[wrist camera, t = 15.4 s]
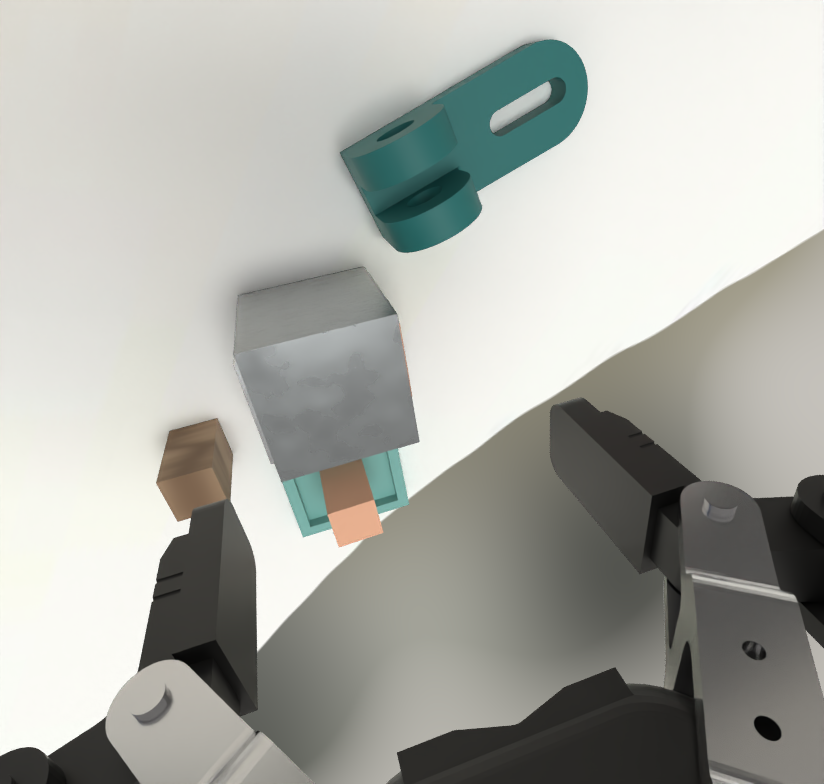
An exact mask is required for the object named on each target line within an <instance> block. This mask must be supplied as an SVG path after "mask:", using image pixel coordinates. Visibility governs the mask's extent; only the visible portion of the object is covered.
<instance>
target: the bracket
mask: <svg viewBox="0 0 824 784" xmlns="http://www.w3.org/2000/svg"><path fill="white" fill-rule="evenodd" d="M547 81H549V82H550V84H551V88H552V92H551V96H550V98H549V100H548V101H547V102H546V103H545V104H543V105H541V106H539V107H538V108H536V109H534V110H533V111H531V112H529V113H528V114H526V115H524V116H522V117H521V118H519V119H517V120H516V121H514V122H512V123H510V124H509V125H507V126H505V127H504V128H502V129H500V130H499V131H497V132H495V133H492V132H491V129H490V119H491V117H492V115H493V114H494V113H495V112H496V111H497V110H499V109H501V108H502V107H504V106H506V105H508V104H509V103H511V102H513V101H514V100H516V99H518V98H519V97H521V96H523V95H525V94H526V93H528V92H530V91H531V90H533V89H535V88H537V87H538V86H540V85H542V84H543V83H545V82H547ZM587 92H588V82H587V75H586V70H585V67H584V64H583V62H582V60H581V58H580V57H579V55H578V54H577V52H576V51H575V50H574V49H573V48H572V47H570V46H569V45H567V44H566V43H564V42H561V41H558V40H543V41H539V42H534V43H530V44H526V45H523V46H521V47H519V48H517V49H516V50H514V51H512V52H510V53H509V54H507V55H505V56H504V57H502V58H500V59H498V60H497V61H495V62H493V63H492V64H490V65H488V66H487V67H485V68H483V69H481V70H480V71H478V72H476V73H475V74H473V75H471V76H470V77H468V78H466V79H464V80H463V81H461V82H459V83H458V84H456V85H454V86H453V87H451V88H449V89H447V90H446V91H444V92H442V93H441V94H439V95H437V96H435V97H434V98H432V99H430V100H429V101H427V102H425V103H424V104H422V105H420V106H418V107H417V108H415V109H413V110H412V111H410V112H408V113H407V114H405V115H403V116H401V117H400V118H398V119H396V120H395V121H393V122H391V123H389V124H388V125H386V126H384V127H383V128H381V129H379V130H378V131H376V132H374V133H372V134H371V135H369V136H367V137H366V138H364V139H362V140H361V141H359V142H357V143H355V144H354V145H352V146H350V147H349V148H347V149H345V150H343V151H342V152H340V154H341V156H342V158H343V160H344V162H345V164H346V166H347V168H348V170H349V172H350V174H351V175H352V177H353V179H354V181H355V183H356V185H357V187H358V189H359V191H360V193H361V195H362V197H363V199H364V201H365V203H366V205H367V207H368V209H369V211H370V213H371V214H372V216H373V218H374V220H375V222H376V224H377V226H378V228H379V230H380V232H381V234H382V236H383V237H384V238H385V239H386V240H387V241H388V242H389V243H390V244H391V245H392V246H393V247H394V248H395V249H396V250H397V251H399V252H403V253H409V252H415V251H420V250H423V249H426V248H429V247H432V246H434V245H437V244H439V243H441V242H443V241H445V240H447V239H449V238H451V237H453V236H454V235H456V234H458V233H459V232H461V231H462V230H464V229H465V228H466V227H468V226H469V225H470V224H471V223H472V222H473V221H474V220H475V219H476V218H477V217H478V216H479V214H480V213H481V210H482V205H481V202H480V200H479V197H478V194H477V191H479V190H481V189H482V188H484V187H486V186H487V185H489V184H491V183H493V182H494V181H496V180H498V179H499V178H501V177H503V176H504V175H506V174H508V173H510V172H511V171H513V170H515V169H516V168H518V167H520V166H522V165H523V164H525V163H527V162H528V161H530V160H532V159H534V158H535V157H537V156H539V155H540V154H542V153H544V152H546V151H547V150H549V149H551V148H552V147H554V146H556V145H558V144H559V143H561V142H562V141H563V140H565V139H566V138H567V137H568V136H569V135H570V134H571V132H572V131H573V130H574V129H575V127H576V126H577V124H578V122H579V121H580V118H581V116H582V114H583V111H584V108H585V105H586V100H587Z"/></svg>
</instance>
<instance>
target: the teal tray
mask: <svg viewBox="0 0 824 784" xmlns="http://www.w3.org/2000/svg"><path fill="white" fill-rule="evenodd" d="M362 462H363V465H364V469H365V472H366V475H367V478H368V482H369V485H370V488H371V491H372V494H373V498H374V501H375V504H376V508H377V512H378V514H380V513H383V512H386V511H390V510H393V509H396V508H399V507H402V506H405V505H409V502H408V497H407V492H406V487H405V482H404V477H403V473H402V468H401V463H400V458H399V453H398V448H397V449H394V450H390V451H387V452H383V453H380V454H377V455H373V456H370V457H366V458H363V459H362ZM282 483H283V485H284V488H285V491H286V493H287V496H288V499H289V501H290V504H291V507H292V509H293V512H294V515H295V517H296V520H297V522H298V525H299V528H300V530H301V533H302V536H303V537H306V536H309V535H312V534H316V533H319V532H322V531H325V530H329V529H332V526H331V523H330V521H329V518H328V515H327V510H326V504H325V499H324V494H323V488H322V483H321V477H320V472H319V471H318V472H315V473H311V474H308V475H305V476H301V477H298V478H294V479H291V480H287V481H284V482H282Z"/></svg>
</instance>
